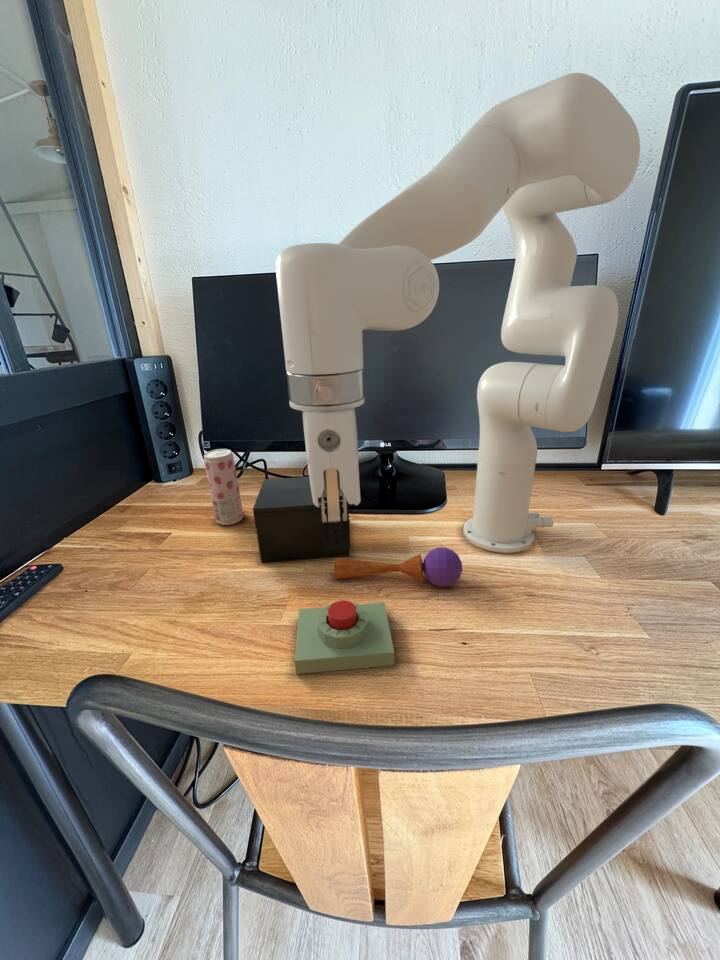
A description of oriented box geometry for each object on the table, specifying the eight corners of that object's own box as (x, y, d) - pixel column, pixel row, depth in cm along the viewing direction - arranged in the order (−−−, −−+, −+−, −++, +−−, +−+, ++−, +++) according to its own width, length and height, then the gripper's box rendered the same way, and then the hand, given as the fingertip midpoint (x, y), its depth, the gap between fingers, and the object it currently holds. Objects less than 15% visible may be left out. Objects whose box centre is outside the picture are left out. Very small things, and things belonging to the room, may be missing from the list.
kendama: (337, 544, 67) (459, 541, 64) (341, 577, 68) (460, 575, 65) (329, 559, 61) (463, 556, 58) (333, 594, 63) (464, 593, 59)
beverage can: (247, 513, 88) (237, 448, 82) (237, 526, 82) (225, 458, 76) (223, 512, 88) (210, 448, 82) (211, 525, 83) (197, 457, 77)
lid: (348, 478, 79) (347, 455, 77) (351, 506, 67) (350, 480, 65) (264, 483, 78) (261, 460, 76) (253, 513, 66) (249, 487, 64)
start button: (355, 609, 53) (355, 599, 52) (357, 629, 50) (357, 618, 49) (328, 611, 53) (327, 601, 52) (328, 632, 49) (327, 621, 49)
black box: (346, 521, 82) (344, 478, 79) (349, 556, 71) (347, 507, 67) (270, 527, 82) (264, 483, 78) (261, 563, 70) (253, 513, 66)
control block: (384, 614, 57) (384, 591, 56) (394, 665, 49) (394, 640, 47) (300, 621, 56) (297, 598, 55) (296, 674, 48) (292, 649, 47)
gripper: (371, 402, 33) (375, 584, 40) (358, 376, 47) (363, 514, 54) (280, 407, 32) (300, 590, 40) (294, 378, 46) (307, 518, 53)
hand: (336, 546), depth 47 cm, fingers closed
